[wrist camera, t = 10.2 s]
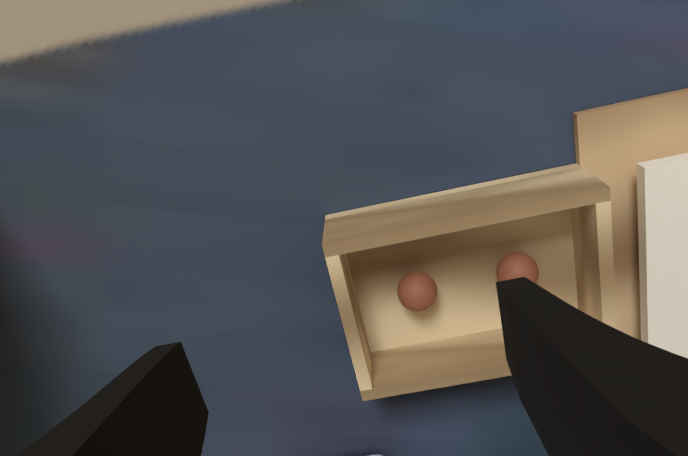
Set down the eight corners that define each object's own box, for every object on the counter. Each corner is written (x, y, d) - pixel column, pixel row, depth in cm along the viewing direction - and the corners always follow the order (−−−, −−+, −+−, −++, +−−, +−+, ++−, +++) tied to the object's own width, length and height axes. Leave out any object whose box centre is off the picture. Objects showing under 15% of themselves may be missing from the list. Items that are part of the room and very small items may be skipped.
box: (586, 316, 24) (617, 356, 21) (361, 356, 25) (362, 401, 22) (576, 163, 21) (610, 186, 18) (325, 215, 22) (321, 244, 19)
